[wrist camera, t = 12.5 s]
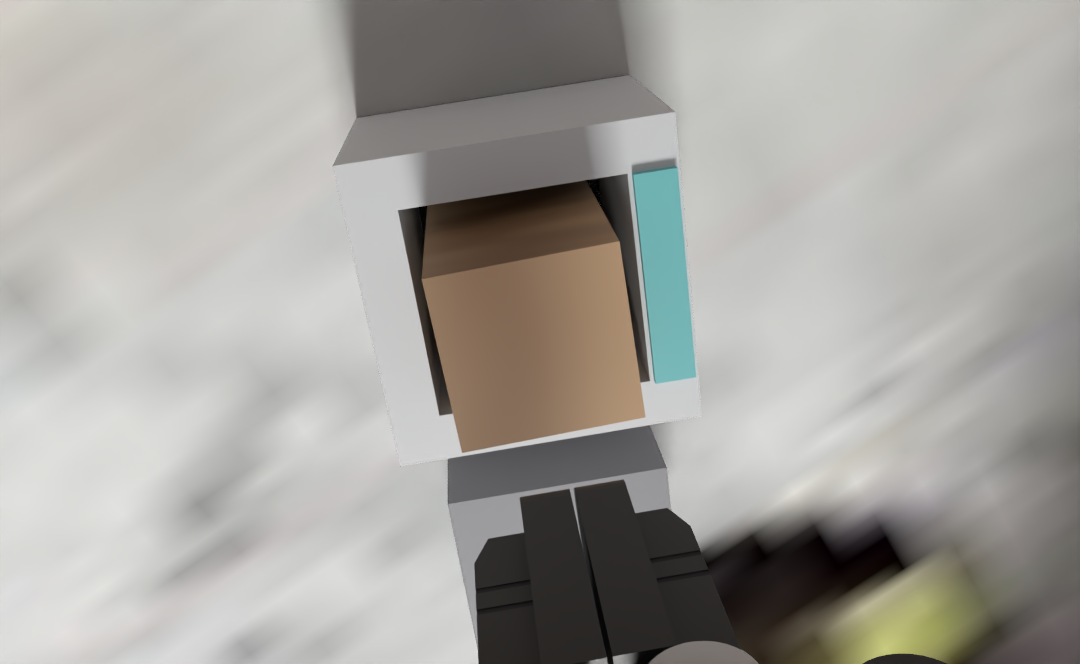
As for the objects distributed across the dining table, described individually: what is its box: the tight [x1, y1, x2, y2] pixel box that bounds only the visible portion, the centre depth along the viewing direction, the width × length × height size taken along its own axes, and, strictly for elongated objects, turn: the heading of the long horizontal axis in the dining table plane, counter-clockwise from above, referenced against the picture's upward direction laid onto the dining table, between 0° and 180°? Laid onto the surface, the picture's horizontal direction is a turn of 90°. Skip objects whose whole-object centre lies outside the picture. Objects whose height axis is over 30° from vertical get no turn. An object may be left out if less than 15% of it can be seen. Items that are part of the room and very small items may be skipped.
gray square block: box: [448, 425, 671, 648], centre depth 30 cm, size 6×6×4 cm
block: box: [422, 180, 646, 453], centre depth 25 cm, size 4×4×9 cm
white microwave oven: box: [333, 75, 702, 467], centre depth 26 cm, size 8×8×6 cm
